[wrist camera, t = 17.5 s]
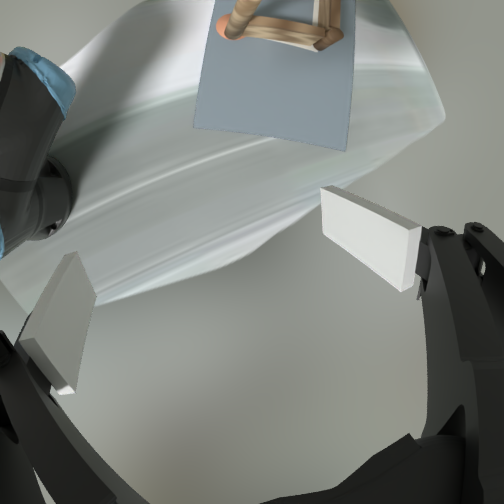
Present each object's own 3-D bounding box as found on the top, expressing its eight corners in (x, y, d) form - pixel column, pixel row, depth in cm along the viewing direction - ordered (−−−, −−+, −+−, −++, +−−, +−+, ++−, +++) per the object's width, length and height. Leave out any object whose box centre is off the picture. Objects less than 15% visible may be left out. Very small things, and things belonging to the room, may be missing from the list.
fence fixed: (312, 48, 41) (330, 36, 34) (317, -16, 36) (333, -31, 29) (324, 52, 42) (343, 41, 35) (328, -12, 36) (344, -26, 30)
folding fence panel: (309, 35, 40) (381, -14, 19) (310, 51, 41) (385, 6, 21) (222, 24, 36) (254, -51, 16) (221, 40, 38) (253, -31, 17)
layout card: (193, 127, 43) (193, 127, 42) (225, -40, 31) (226, -41, 31) (344, 151, 50) (345, 151, 49) (354, -4, 38) (355, -5, 38)
